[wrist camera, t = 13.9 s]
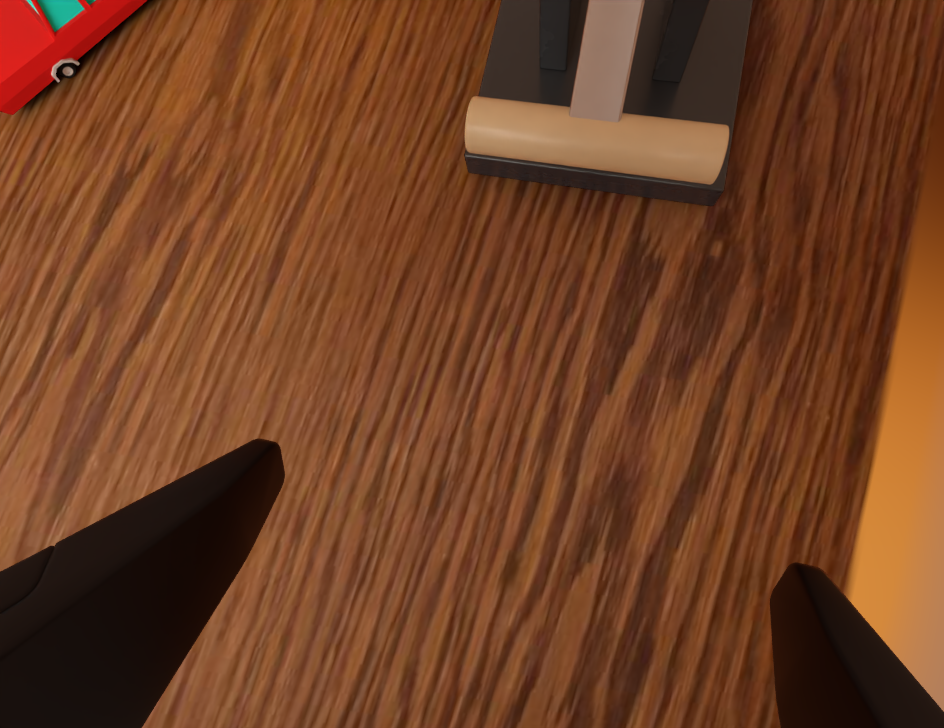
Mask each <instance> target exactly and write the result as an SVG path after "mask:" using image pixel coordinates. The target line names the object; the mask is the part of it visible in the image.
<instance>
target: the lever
mask: <svg viewBox="0 0 944 728" xmlns="http://www.w3.org/2000/svg"><path fill="white" fill-rule="evenodd" d="M644 3H645V0H589V2H588V7H587V13H586V19H585V25H584V30H583V36H582V42H581V47H580V53H579V59H578V64H577V70H576V76H575V81H574V87H573V93H572V99H571V104H570V107H566V106H557V105H548V104H540V103H531V102H522V101H514V100H505V99H496V98H488V97H479V96H474V97H472V99H471V101H470V103H469V106H468V110H467V115H466V122H465V146H466V150H467V151H468V152H469V153H475V154H482V155H490V156H497V157H505V158H513V159H520V160H528V161H535V162H543V163H550V164H558V165H565V166H573V167H581V168H588V169H596V170H603V171H611V172H618V173H626V174H634V175H641V176H649V177H656V178H664V179H671V180H679V181H687V182H694V183H702V184H713V183H714V181H715V180H716V178H717V177H718V175H719V172H720V170H721V167H722V164H723V161H724V158H725V154H726V151H727V146H728V141H729V127H728V126H727V125H722V124H714V123H705V122H696V121H688V120H679V119H670V118H662V117H653V116H644V115H635V114H627V113H622V112H623V107H624V102H625V97H626V92H627V87H628V82H629V77H630V72H631V67H632V62H633V57H634V52H635V47H636V42H637V37H638V32H639V27H640V22H641V17H642V12H643V7H644Z"/></svg>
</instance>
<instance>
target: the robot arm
mask: <svg viewBox="0 0 944 728" xmlns="http://www.w3.org/2000/svg"><path fill="white" fill-rule="evenodd" d="M284 478H285V471H284V466H283V460H282V454H281V449H280V446H279V445H278V443H276V442H273V441H269V440H264V439H255V440H252V441H250V442H248V443H246V444H245V445H243V446H241V447H239V448H237V449H235V450H233V451H231V452H229V453H227V454H225V455H224V456H222V457H220V458H218V459H216V460H214V461H212V462H210V463H208V464H206V465H204V466H203V467H201V468H199V469H197V470H195V471H193V472H191V473H189V474H187V475H185V476H183V477H181V478H180V479H178V480H176V481H174V482H172V483H170V484H168V485H166V486H164V487H162V488H160V489H159V490H157V491H155V492H153V493H151V494H149V495H147V496H145V497H143V498H141V499H139V500H138V501H136V502H134V503H132V504H130V505H128V506H126V507H124V508H122V509H120V510H118V511H117V512H115V513H113V514H111V515H109V516H107V517H105V518H103V519H101V520H99V521H97V522H96V523H94V524H92V525H90V526H88V527H86V528H84V529H82V530H80V531H78V532H76V533H75V534H73V535H71V536H69V537H67V538H65V539H63V540H61V541H59V542H57V543H56V545H55V547H54V546H49V547H47V548H46V549H44V550H42V551H40V552H38V553H36V554H34V555H32V556H30V557H28V558H26V559H24V560H22V561H20V562H19V563H17V564H15V565H13V566H11V567H9V568H7V569H5V570H3V571H1V572H0V728H142V726H143V725H144V723H145V721H146V720H147V718H148V717H149V715H150V713H151V712H152V710H153V709H154V707H155V705H156V704H157V702H158V701H159V699H160V697H161V696H162V694H163V693H164V691H165V689H166V688H167V686H168V685H169V683H170V681H171V680H172V678H173V677H174V675H175V673H176V672H177V670H178V668H179V667H180V665H181V664H182V662H183V660H184V659H185V657H186V656H187V654H188V652H189V651H190V649H191V648H192V646H193V644H194V643H195V641H196V640H197V638H198V636H199V635H200V633H201V632H202V630H203V628H204V627H205V625H206V624H207V622H208V620H209V619H210V617H211V616H212V614H213V612H214V611H215V609H216V608H217V606H218V604H219V603H220V601H221V599H222V598H223V596H224V595H225V593H226V591H227V590H228V588H229V587H230V585H231V583H232V582H233V580H234V579H235V577H236V575H237V574H238V572H239V571H240V569H241V567H242V566H243V564H244V562H245V560H246V559H247V557H248V555H249V553H250V551H251V549H252V547H253V545H254V543H255V541H256V539H257V537H258V535H259V533H260V531H261V529H262V527H263V525H264V523H265V521H266V519H267V517H268V515H269V512H270V510H271V508H272V506H273V504H274V502H275V500H276V498H277V496H278V494H279V492H280V490H281V488H282V485H283V483H284ZM770 614H771V629H772V645H773V661H774V676H775V690H776V701H777V707H778V714H779V720H780V726H781V728H944V712H943V710H941V708H940V707H939V706H938V705H937V703H936V702H935V701H934V700H933V699H932V698H931V696H930V695H929V694H928V693H927V692H926V690H925V689H924V688H923V687H922V686H921V685H920V683H919V682H918V681H917V680H916V679H915V678H914V676H913V675H912V674H911V673H910V672H909V670H908V669H907V668H906V667H905V666H904V665H903V663H902V662H901V661H900V660H899V659H898V657H897V656H896V655H895V654H894V653H893V652H892V651H891V650H890V648H889V647H888V646H887V645H886V643H885V642H884V641H883V640H882V639H881V637H880V636H879V635H878V634H877V633H876V632H875V630H874V629H873V628H872V627H871V626H870V625H869V623H868V622H867V621H866V620H865V619H864V618H863V616H862V615H861V614H860V613H859V612H858V610H857V609H856V608H855V607H854V606H853V605H852V603H851V602H850V601H849V600H848V599H847V598H846V596H845V595H844V594H843V593H842V592H841V590H840V589H839V588H838V587H837V586H836V585H835V583H834V582H833V581H832V580H831V579H830V578H829V576H828V575H827V574H826V573H825V572H824V571H823V570H822V569H820V568H818V567H814V566H810V565H806V564H801V563H792V564H790V565H789V566H788V568H787V569H786V571H785V572H784V574H783V575H782V577H781V578H780V580H779V582H778V583H777V585H776V586H775V588H774V589H773V591H772V594H771V598H770Z"/></svg>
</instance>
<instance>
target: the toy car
mask: <svg viewBox="0 0 944 728" xmlns="http://www.w3.org/2000/svg"><path fill="white" fill-rule="evenodd" d="M146 1H147V0H0V111H1V112H4V113H7V114H11V115H13V114H15V113H16V112H17V111H18V110H19V109H20V108H22V107H23V106H24V105H25V104H26V103H27V102H29V101H30V100H31V99H32V98H33V97H34V96H36V95H37V94H38V93H39V92H40V91H42V90H43V89H44V88H45V87H46V86H47V85H49V84H50V83H51V82H52V81H53V80H54V79H55V80H56V81H57V82H59V81H60V80H59V79H58V78H57V76H56V70H58V73H59V74H60V75H61V76H62V77H65V78H71V77H73V76H74V75H75V73H76V68H75V66H74V65H73V64H72V63H70V62H73V63H74V64H76V65H79V64H80V63H79V62H78V61H77V60H78V59H79V58H80V57H81V56H83V55H84V54H85V53H86V52H87V51H89V50H90V49H91V48H92V47H93V46H94V45H96V44H97V43H98V42H99V41H100V40H101V39H103V38H104V37H105V36H106V35H107V34H109V33H110V32H111V31H112V30H113V29H114V28H116V27H117V26H118V25H119V24H120V23H121V22H123V21H124V20H125V19H126V18H127V17H128V16H130V15H131V14H132V13H133V12H134V11H136V10H137V9H138V8H139V7H140V6H141V5H143V4H144V3H145V2H146Z"/></svg>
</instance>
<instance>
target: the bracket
mask: <svg viewBox="0 0 944 728" xmlns="http://www.w3.org/2000/svg"><path fill="white" fill-rule="evenodd" d="M588 2H589V0H501V4H500V9H499V13H498V17H497V21H496V25H495V29H494V34H493V38H492V42H491V46H490V50H489V54H488V58H487V63H486V67H485V71H484V75H483V79H482V83H481V87H480V92H479V97H488V98H496V99H505V100H514V101H522V102H531V103H540V104H548V105H557V106H566V107H570V104H571V99H572V93H573V87H574V81H575V76H576V70H577V64H578V59H579V53H580V47H581V42H582V36H583V30H584V25H585V19H586V13H587V7H588ZM752 5H753V0H645V3H644V7H643V12H642V17H641V22H640V27H639V32H638V37H637V42H636V47H635V52H634V57H633V62H632V67H631V72H630V77H629V82H628V87H627V92H626V97H625V102H624V107H623V112H622V113H627V114H635V115H644V116H653V117H662V118H670V119H679V120H688V121H696V122H705V123H714V124H722V125H727V126H728V127H729V141H728V146H727V151H726V154H725V158H724V161H723V164H722V167H721V170H720V172H719V175H718V177H717V178H716V180H715V181H714V183H713V184H702V183H694V182H687V181H679V180H671V179H664V178H656V177H649V176H641V175H634V174H626V173H618V172H611V171H603V170H596V169H588V168H581V167H573V166H565V165H558V164H550V163H543V162H535V161H528V160H520V159H513V158H505V157H497V156H490V155H482V154H475V153H469V152H468V151H467V150H465V154H464V156H465V161H466V165H467V169H468V172H469V173H474V174H481V175H489V176H496V177H503V178H510V179H518V180H525V181H532V182H539V183H547V184H554V185H561V186H568V187H576V188H583V189H590V190H597V191H605V192H612V193H619V194H626V195H634V196H641V197H648V198H655V199H663V200H670V201H677V202H684V203H692V204H699V205H706V206H714V205H715V203H716V202H717V200H718V199H719V197H720V196H721V194H722V192H723V191H724V189H725V182H726V176H727V169H728V163H729V156H730V149H731V143H732V136H733V130H734V123H735V117H736V110H737V103H738V97H739V90H740V84H741V77H742V70H743V64H744V57H745V51H746V44H747V37H748V31H749V24H750V18H751V11H752Z"/></svg>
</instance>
